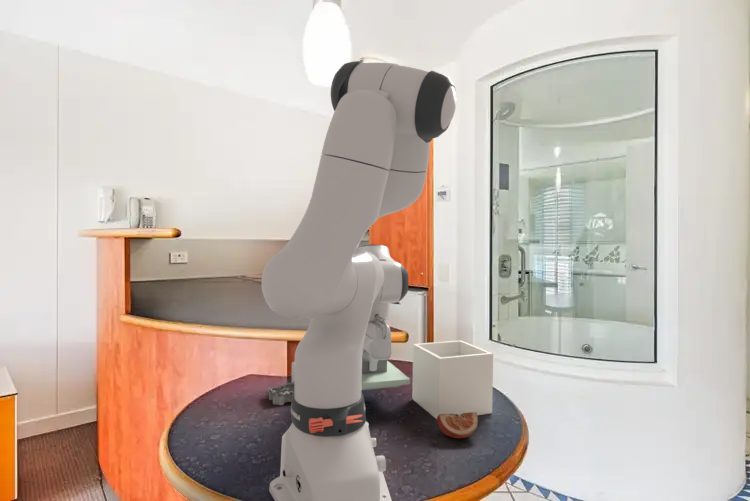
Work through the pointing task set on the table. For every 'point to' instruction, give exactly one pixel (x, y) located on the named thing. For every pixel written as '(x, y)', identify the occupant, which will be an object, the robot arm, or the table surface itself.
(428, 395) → the box
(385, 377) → the lid
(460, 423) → the fruit slice
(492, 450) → the table surface
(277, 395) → the egg carton
